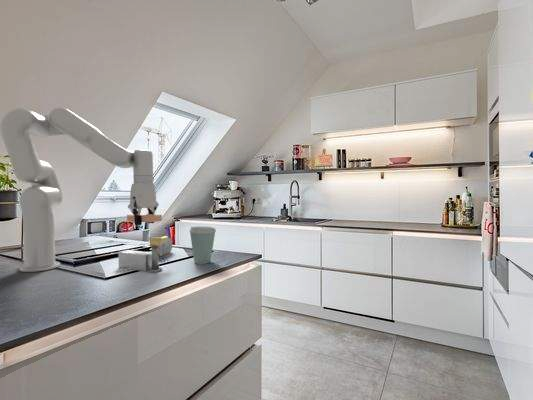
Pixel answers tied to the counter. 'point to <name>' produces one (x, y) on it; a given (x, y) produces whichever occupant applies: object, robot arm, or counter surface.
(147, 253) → the housing
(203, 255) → the disposable coffee cup
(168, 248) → the tin
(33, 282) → the counter surface
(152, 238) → the key
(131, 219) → the cover
